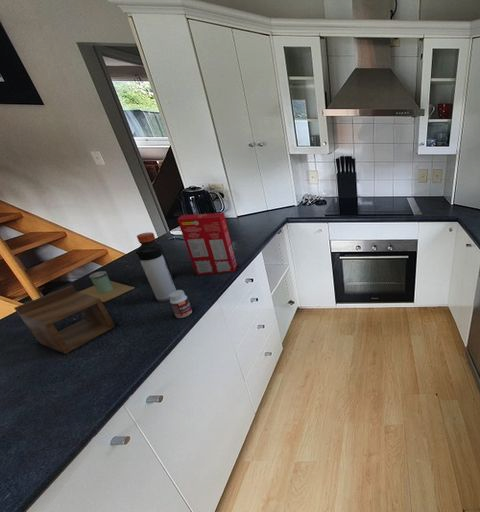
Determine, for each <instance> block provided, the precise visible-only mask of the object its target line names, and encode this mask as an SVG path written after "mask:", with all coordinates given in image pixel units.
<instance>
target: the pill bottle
mask: <svg viewBox="0 0 480 512" xmlns="http://www.w3.org/2000/svg"><path fill="white" fill-rule="evenodd" d="M169 297H170V300H169V303H170V306H171V309H172V311H173V313H174V316H175V317H176V318H179V319H183V318H186V317H188V316H190V315H191V314H192V312H193V309H192V306H191V303H190V301H189V298H188V296H187V295H186V294H185V291H184V290H183V289H176V291H173V292H171V293H170V294H169Z"/></svg>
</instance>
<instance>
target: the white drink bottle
mask: <svg viewBox="0 0 480 512" xmlns="http://www.w3.org/2000/svg"><path fill="white" fill-rule="evenodd" d="M136 238H137V241H138V242H139V244H140V246H139V248H138V249H141V248H146V247H157V248H158V247H159V248H160V250H161V253H162V255H163V257H164V260H165V262H166V265H167V268H168V270H169V273H170V275H171V278H172V280H173V279H174V275H173V272H172V270H171V267H170V265H169V262H168V259H167V256H166V254H165V251H164V249H163V246H162V244H161V243H159V242H157V241H156V236H155V233H154V232H151V231H149V232H148V231H147V232H142V233H139V234H136Z"/></svg>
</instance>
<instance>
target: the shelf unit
mask: <svg viewBox="0 0 480 512" xmlns="http://www.w3.org/2000/svg"><path fill="white" fill-rule="evenodd" d="M13 309H14V310H15V311H16V313H17V314H18V316H19V317H20V318H21V320H22V321H23V322H24V324H25V325H26V327H27V328H28V329H29V331H30V332H31V333H32V335H33V336H34V337H35V339H36V340H37V342H38V343H39V345H42V346H45V347H47V348H50V349H51V350H52V349H53V350H54V351H57V352H60V353H62V354H64V355H66V354H68V353H70V352H71V351H73V350H76V349H77V348H79V347H81V346H83V345H84V344H86V343H89V342H90V341H92V340H93V339H95V338H97V337H99V336H101V335H103V334H104V333H106V332H108V331H110V330H112V329H113V328H116V325H115V323H114V321H113V320H112V318H111V316H110V314H109V312H108V311H107V309H106V307H105V305H104V302H102V301H101V299H100V298H97V297H94V296H90V295H87V294H84V293H81V292H80V291H77V289H76V288H75V286H74V285H72V284H71V285H69V286H66V287H63V288H61V289H58V290H56V291H54V292H51V293H48V294H46V295H43V296H40V297H38V298H35V299H33V300H30V301H27V302H25V303H23V304H20V305H17V306H16V307H14V308H13ZM79 312H81V314H82V316H83V317H84V318H83V319H81V320H79V321H77V322H75V323H73V324H71V325H69V326H66V327H65V328H62V329H60V330H59V331H58V329H57V328H56V327H55V325H54V324H55V323H57V322H59V321H61V320H64V319H65V318H68V317H70V316H72V315H74V314H76V313H79Z"/></svg>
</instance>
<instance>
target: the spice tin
mask: <svg viewBox="0 0 480 512" xmlns="http://www.w3.org/2000/svg"><path fill="white" fill-rule="evenodd" d="M88 278H89V279H90V280H91V283H92V284H93V286H95V288H96V290H97V291H98V293H107V292H109V291H111V290H113V289H114V287H113V285H112V283H111V281H112V280H111V279H110V277H109V276H108V272H107V271H104V270H102V271H96V272H93V273H91V274H90V275H88Z"/></svg>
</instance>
